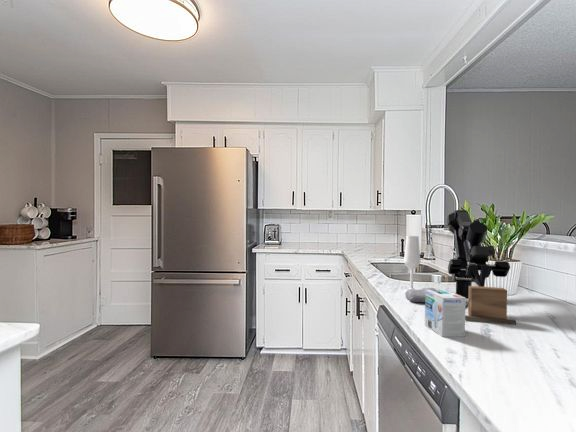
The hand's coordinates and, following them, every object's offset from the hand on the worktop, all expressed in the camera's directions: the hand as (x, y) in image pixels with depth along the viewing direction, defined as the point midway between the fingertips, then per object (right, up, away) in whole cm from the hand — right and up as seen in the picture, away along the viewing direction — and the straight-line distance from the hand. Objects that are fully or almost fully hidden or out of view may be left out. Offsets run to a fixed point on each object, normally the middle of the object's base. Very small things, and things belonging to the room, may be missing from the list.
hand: (482, 287), depth 118 cm
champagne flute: (-13, -9, +32) cm, 35 cm away
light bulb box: (-21, -9, -18) cm, 29 cm away
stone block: (-13, -8, +16) cm, 23 cm away
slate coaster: (-4, -9, +13) cm, 16 cm away
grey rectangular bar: (-3, -9, -9) cm, 13 cm away
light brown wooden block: (-2, -9, -6) cm, 11 cm away
